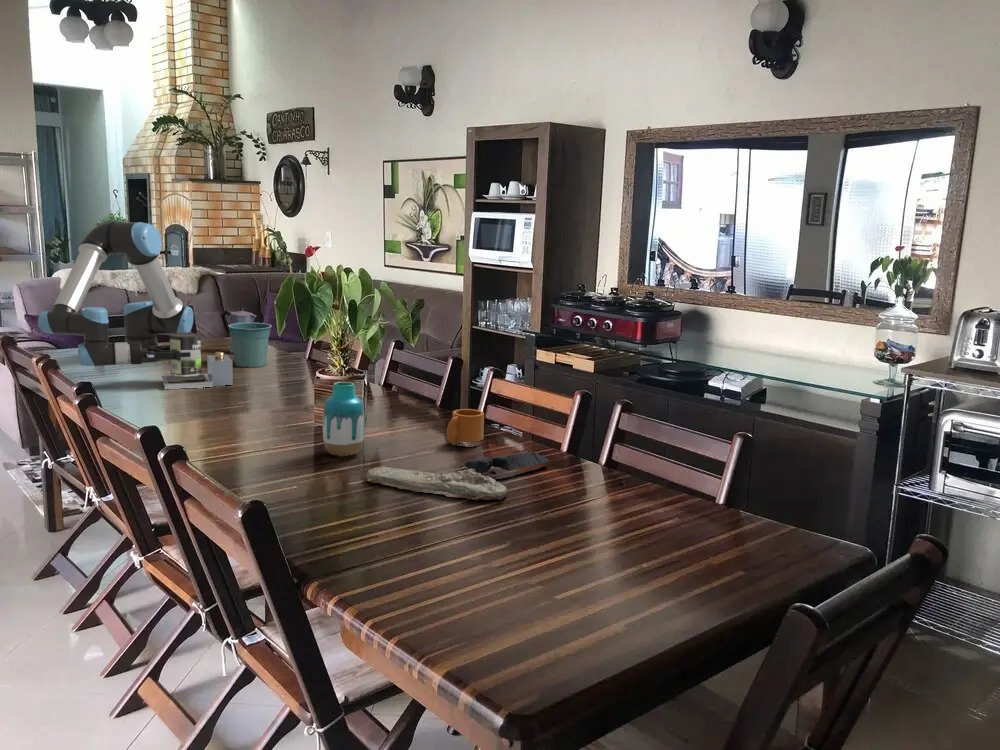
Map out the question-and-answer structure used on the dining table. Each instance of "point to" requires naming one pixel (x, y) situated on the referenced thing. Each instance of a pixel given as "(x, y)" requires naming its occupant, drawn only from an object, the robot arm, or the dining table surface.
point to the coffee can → (185, 365)
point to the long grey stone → (440, 481)
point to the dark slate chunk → (506, 462)
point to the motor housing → (217, 374)
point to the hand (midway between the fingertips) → (198, 351)
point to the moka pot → (237, 320)
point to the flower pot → (250, 343)
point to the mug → (466, 426)
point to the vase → (343, 421)
